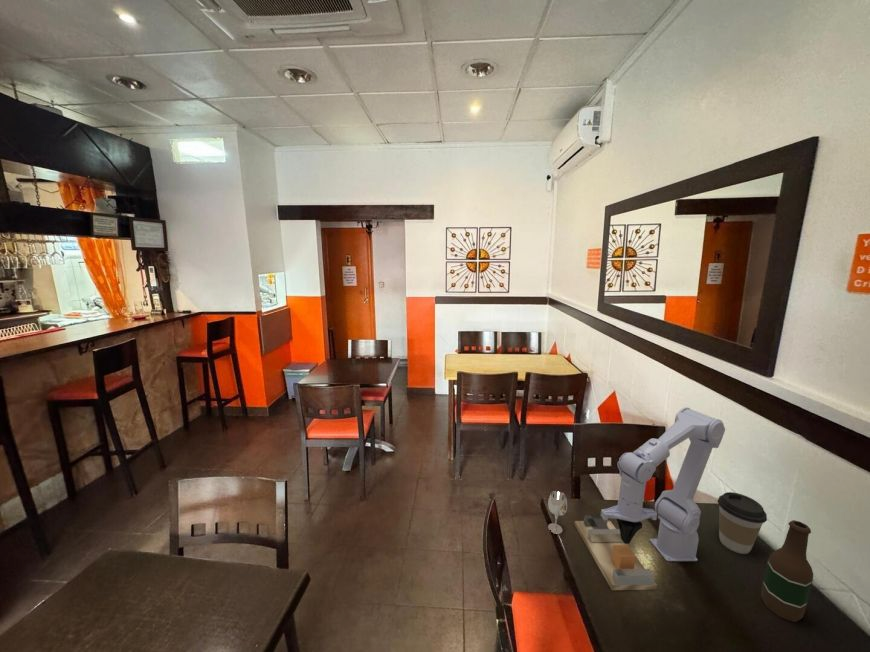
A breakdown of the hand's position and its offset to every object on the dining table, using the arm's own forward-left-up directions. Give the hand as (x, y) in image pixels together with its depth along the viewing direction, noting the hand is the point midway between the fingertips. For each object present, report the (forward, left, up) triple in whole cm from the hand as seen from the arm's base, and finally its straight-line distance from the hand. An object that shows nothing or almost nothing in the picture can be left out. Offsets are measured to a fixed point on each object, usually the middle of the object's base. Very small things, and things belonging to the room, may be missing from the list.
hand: (625, 540), depth 95 cm
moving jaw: (0, -12, -8) cm, 14 cm away
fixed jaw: (0, +5, -8) cm, 9 cm away
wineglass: (+13, -15, -10) cm, 22 cm away
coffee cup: (-41, -8, -10) cm, 43 cm away
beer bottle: (-35, +11, -10) cm, 38 cm away
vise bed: (0, -4, -9) cm, 10 cm away
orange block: (0, 0, -8) cm, 8 cm away
